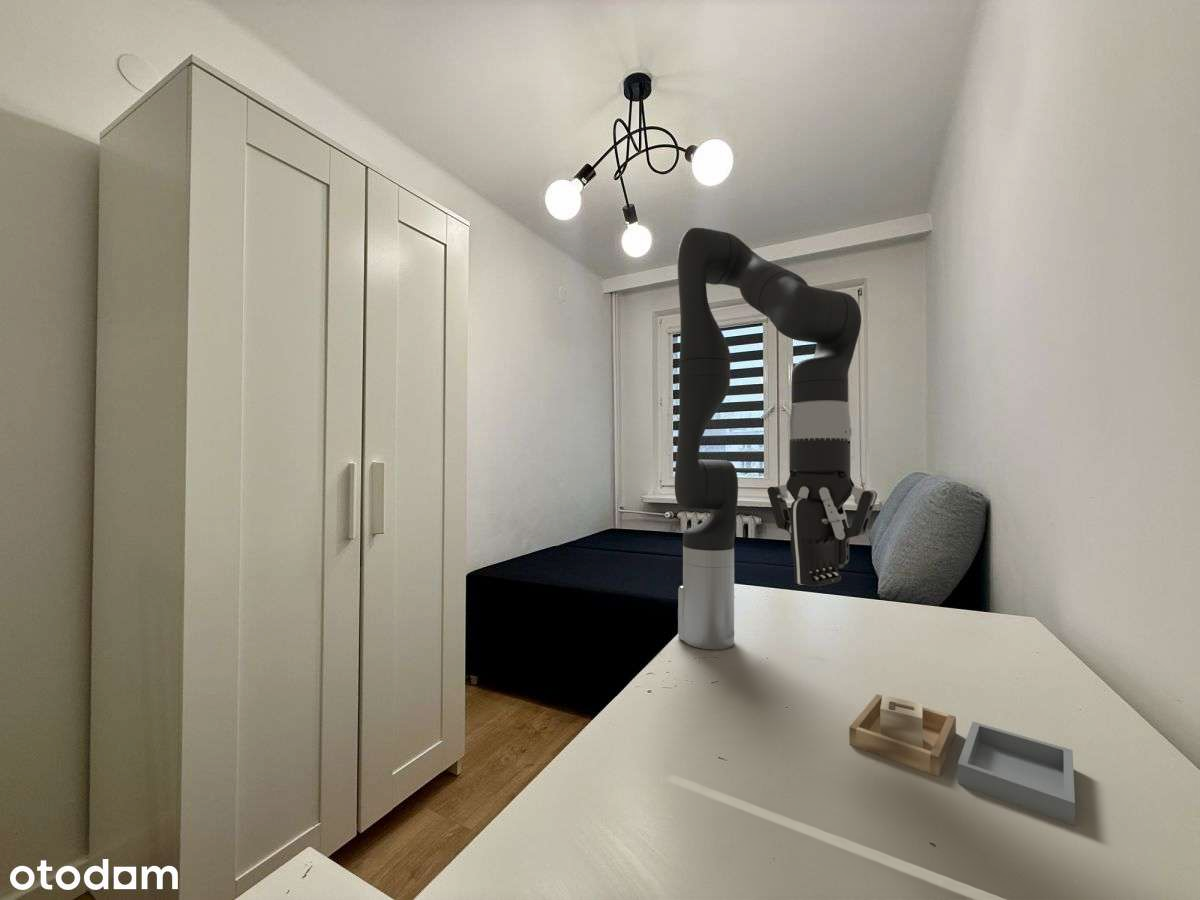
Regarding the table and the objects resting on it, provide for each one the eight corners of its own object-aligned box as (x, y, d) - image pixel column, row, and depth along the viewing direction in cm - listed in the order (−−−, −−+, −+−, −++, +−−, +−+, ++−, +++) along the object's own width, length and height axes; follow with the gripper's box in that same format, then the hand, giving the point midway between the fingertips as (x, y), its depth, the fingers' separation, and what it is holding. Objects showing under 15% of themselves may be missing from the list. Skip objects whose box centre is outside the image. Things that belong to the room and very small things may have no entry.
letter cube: (880, 744, 56) (880, 707, 56) (883, 729, 59) (882, 694, 59) (922, 755, 54) (922, 717, 54) (922, 739, 57) (922, 703, 57)
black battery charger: (818, 589, 62) (812, 499, 63) (792, 584, 66) (787, 498, 66) (850, 582, 66) (845, 496, 67) (825, 578, 69) (820, 496, 70)
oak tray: (849, 749, 56) (849, 726, 56) (876, 713, 64) (876, 694, 64) (938, 782, 50) (938, 757, 50) (956, 738, 58) (955, 716, 59)
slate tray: (958, 789, 49) (957, 763, 49) (973, 743, 57) (972, 721, 57) (1075, 832, 43) (1074, 803, 43) (1073, 774, 52) (1072, 749, 52)
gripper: (756, 437, 69) (756, 561, 68) (869, 434, 59) (870, 578, 59) (778, 439, 74) (778, 554, 74) (885, 437, 65) (886, 568, 64)
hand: (819, 564), depth 66 cm, fingers closed on black battery charger, 4 cm apart
